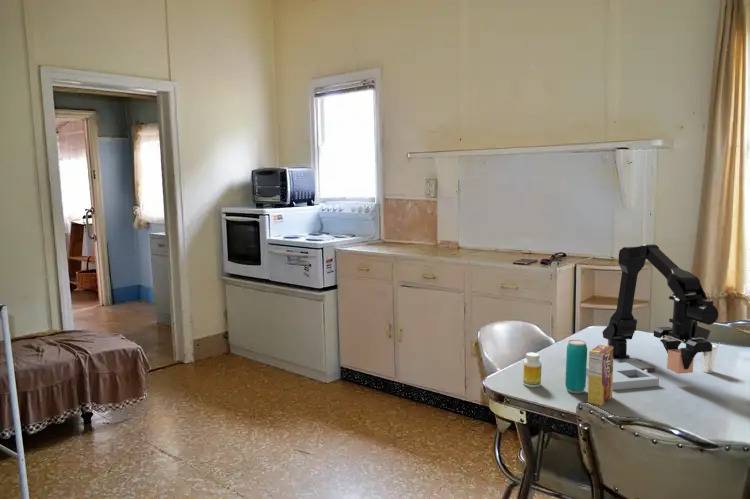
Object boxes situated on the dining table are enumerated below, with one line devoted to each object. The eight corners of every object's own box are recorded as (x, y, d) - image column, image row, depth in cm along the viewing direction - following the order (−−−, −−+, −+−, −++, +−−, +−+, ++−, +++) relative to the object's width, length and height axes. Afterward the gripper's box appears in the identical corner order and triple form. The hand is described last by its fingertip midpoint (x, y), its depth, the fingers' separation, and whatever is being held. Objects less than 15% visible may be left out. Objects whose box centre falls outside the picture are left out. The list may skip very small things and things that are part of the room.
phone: (620, 363, 207) (621, 359, 207) (635, 362, 208) (635, 358, 208) (639, 372, 198) (640, 368, 197) (654, 371, 199) (654, 367, 199)
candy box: (597, 393, 179) (600, 343, 177) (612, 397, 176) (615, 346, 174) (586, 402, 172) (588, 350, 170) (601, 406, 170) (604, 353, 168)
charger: (666, 368, 188) (668, 349, 187) (681, 367, 189) (682, 348, 188) (678, 373, 183) (679, 354, 183) (693, 372, 184) (694, 353, 184)
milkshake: (720, 374, 196) (722, 344, 195) (702, 373, 197) (704, 343, 196) (715, 369, 200) (717, 340, 199) (697, 368, 201) (699, 339, 200)
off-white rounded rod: (644, 371, 199) (644, 368, 199) (648, 372, 198) (648, 369, 198) (638, 377, 193) (638, 374, 193) (642, 377, 193) (642, 374, 193)
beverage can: (585, 388, 183) (587, 340, 181) (585, 395, 178) (587, 345, 176) (565, 386, 185) (567, 338, 183) (564, 393, 180) (566, 343, 178)
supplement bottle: (520, 381, 190) (521, 351, 188) (538, 381, 190) (539, 351, 188) (525, 387, 184) (526, 356, 183) (542, 387, 184) (544, 356, 183)
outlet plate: (582, 372, 197) (582, 365, 197) (626, 369, 201) (626, 362, 201) (611, 390, 182) (612, 382, 182) (658, 385, 185) (659, 378, 185)
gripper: (730, 322, 177) (726, 374, 179) (684, 308, 195) (681, 355, 197) (697, 324, 174) (693, 377, 176) (653, 310, 192) (651, 357, 194)
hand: (679, 366), depth 186 cm, fingers closed on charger, 5 cm apart
